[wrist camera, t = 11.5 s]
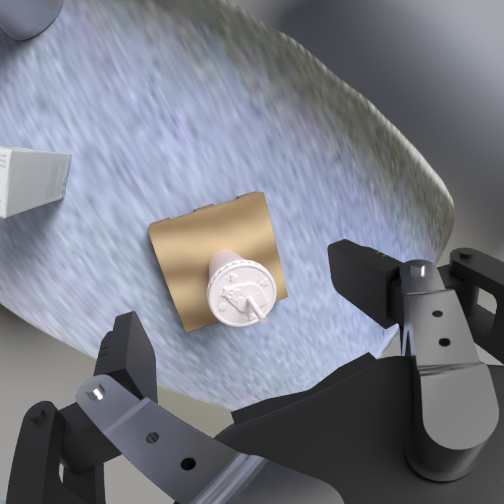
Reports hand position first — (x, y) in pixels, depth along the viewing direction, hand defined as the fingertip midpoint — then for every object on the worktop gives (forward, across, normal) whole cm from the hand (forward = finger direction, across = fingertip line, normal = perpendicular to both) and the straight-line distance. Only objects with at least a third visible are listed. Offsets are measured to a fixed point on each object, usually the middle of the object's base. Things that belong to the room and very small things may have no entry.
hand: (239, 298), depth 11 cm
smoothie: (+23, -2, +8) cm, 25 cm away
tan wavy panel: (+26, -2, +8) cm, 27 cm away
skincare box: (+27, +17, -10) cm, 34 cm away
